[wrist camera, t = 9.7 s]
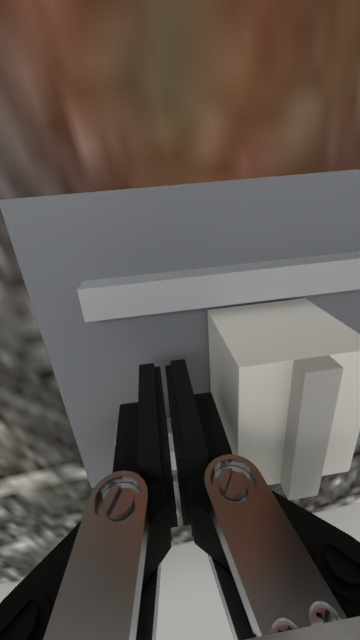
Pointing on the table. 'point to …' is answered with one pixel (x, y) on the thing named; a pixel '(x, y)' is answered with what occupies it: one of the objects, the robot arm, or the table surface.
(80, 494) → the table surface
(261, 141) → the table surface
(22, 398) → the table surface
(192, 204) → the breaker panel
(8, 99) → the table surface
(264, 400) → the knob
